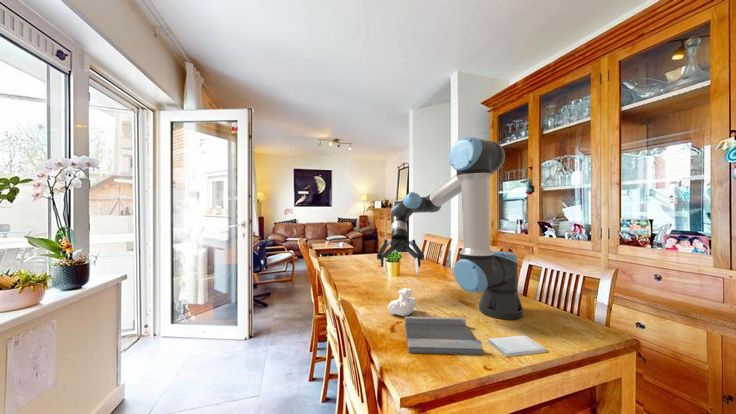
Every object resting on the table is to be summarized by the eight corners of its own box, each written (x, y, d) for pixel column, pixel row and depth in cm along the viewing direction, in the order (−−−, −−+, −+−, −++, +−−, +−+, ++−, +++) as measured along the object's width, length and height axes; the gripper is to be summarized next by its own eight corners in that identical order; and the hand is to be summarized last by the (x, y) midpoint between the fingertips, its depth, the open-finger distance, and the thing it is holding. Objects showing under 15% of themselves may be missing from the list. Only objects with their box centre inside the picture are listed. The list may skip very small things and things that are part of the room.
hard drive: (505, 353, 73) (546, 348, 75) (487, 338, 81) (524, 334, 83) (505, 359, 73) (546, 354, 75) (487, 343, 81) (524, 339, 83)
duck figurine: (390, 323, 100) (400, 305, 93) (381, 305, 105) (390, 287, 99) (416, 317, 105) (427, 299, 99) (407, 300, 110) (417, 282, 104)
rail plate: (464, 325, 92) (464, 317, 92) (482, 354, 74) (482, 343, 74) (404, 324, 93) (404, 315, 93) (408, 352, 75) (408, 342, 75)
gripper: (425, 237, 128) (430, 277, 113) (373, 237, 130) (371, 277, 115) (427, 227, 123) (432, 268, 108) (372, 227, 125) (370, 267, 110)
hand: (400, 273), depth 112 cm, fingers open, 13 cm apart
